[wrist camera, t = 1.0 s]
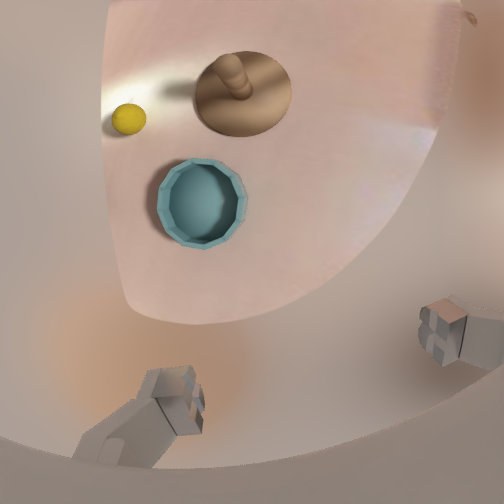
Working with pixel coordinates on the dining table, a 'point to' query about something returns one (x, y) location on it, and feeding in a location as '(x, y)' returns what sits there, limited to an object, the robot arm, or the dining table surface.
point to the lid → (243, 94)
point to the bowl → (201, 203)
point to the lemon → (128, 119)
